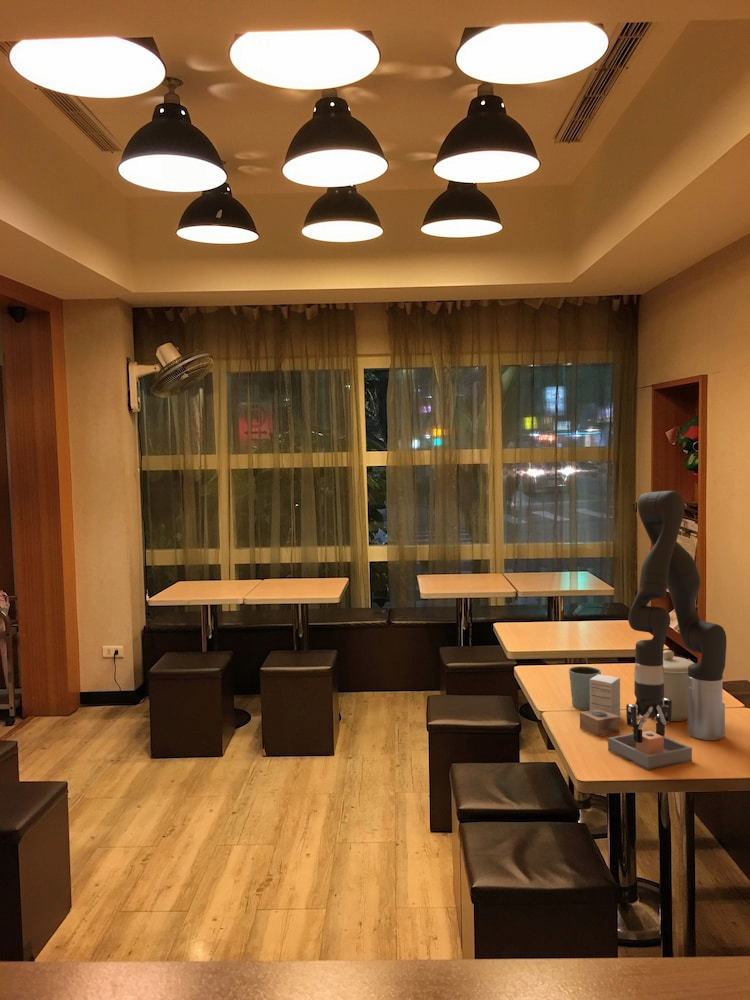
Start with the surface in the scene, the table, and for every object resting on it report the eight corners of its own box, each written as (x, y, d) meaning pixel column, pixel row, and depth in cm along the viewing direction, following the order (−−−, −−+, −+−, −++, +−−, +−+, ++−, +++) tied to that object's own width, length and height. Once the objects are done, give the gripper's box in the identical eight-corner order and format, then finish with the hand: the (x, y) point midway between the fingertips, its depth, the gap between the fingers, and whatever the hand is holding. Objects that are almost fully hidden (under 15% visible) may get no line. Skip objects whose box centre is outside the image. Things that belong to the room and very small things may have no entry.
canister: (681, 730, 211) (681, 660, 210) (626, 715, 224) (626, 649, 224) (709, 717, 222) (710, 650, 221) (655, 703, 236) (655, 640, 235)
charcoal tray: (649, 742, 202) (649, 729, 201) (691, 761, 188) (691, 748, 188) (608, 750, 196) (608, 737, 196) (648, 770, 182) (648, 757, 182)
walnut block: (600, 724, 217) (600, 708, 217) (619, 733, 209) (619, 716, 209) (579, 728, 214) (579, 711, 213) (597, 737, 206) (597, 720, 206)
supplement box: (598, 712, 228) (598, 673, 227) (620, 717, 223) (620, 677, 222) (588, 718, 222) (588, 678, 221) (612, 723, 217) (612, 682, 217)
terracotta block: (650, 748, 195) (650, 730, 195) (663, 755, 190) (663, 736, 190) (635, 751, 193) (635, 732, 193) (649, 758, 189) (649, 739, 188)
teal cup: (604, 710, 229) (604, 674, 229) (573, 710, 229) (573, 674, 229) (595, 701, 239) (595, 665, 239) (565, 701, 239) (565, 666, 239)
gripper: (658, 673, 197) (658, 731, 198) (618, 679, 192) (618, 739, 192) (680, 680, 190) (679, 740, 191) (638, 686, 185) (638, 748, 185)
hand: (649, 739), depth 192 cm, fingers open, 7 cm apart
